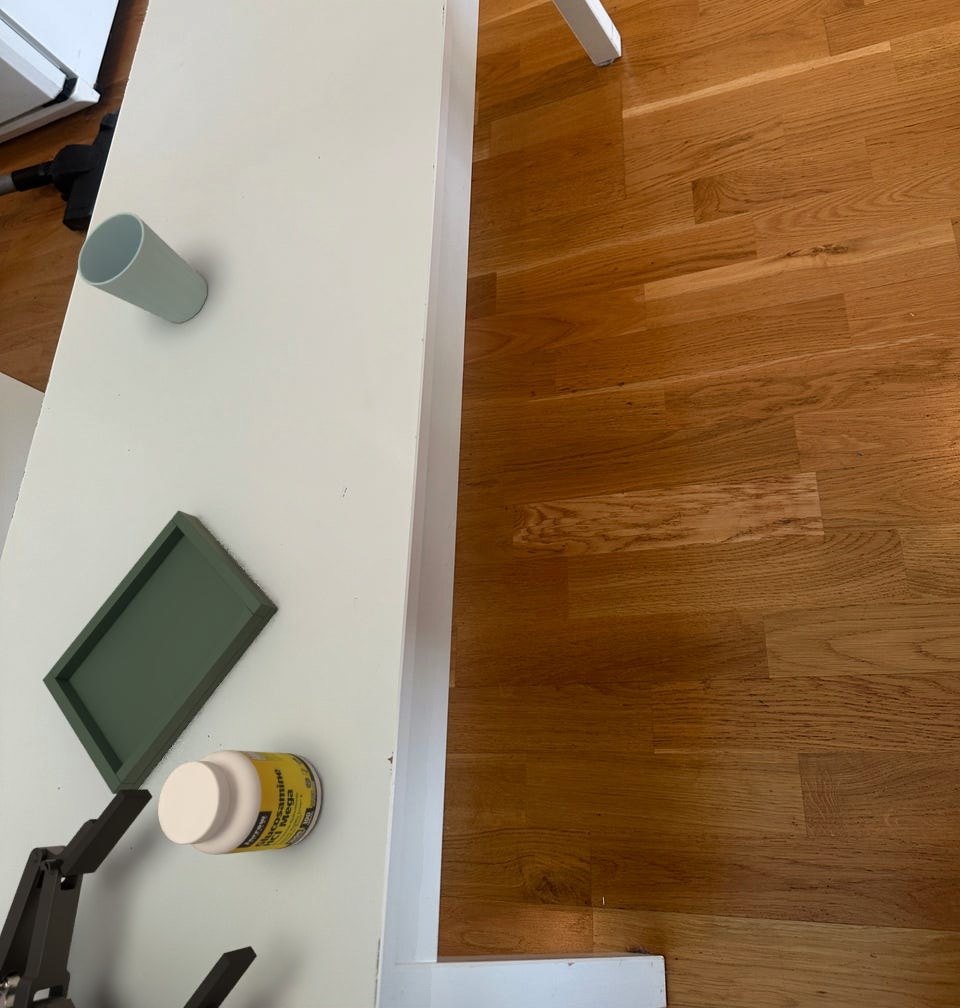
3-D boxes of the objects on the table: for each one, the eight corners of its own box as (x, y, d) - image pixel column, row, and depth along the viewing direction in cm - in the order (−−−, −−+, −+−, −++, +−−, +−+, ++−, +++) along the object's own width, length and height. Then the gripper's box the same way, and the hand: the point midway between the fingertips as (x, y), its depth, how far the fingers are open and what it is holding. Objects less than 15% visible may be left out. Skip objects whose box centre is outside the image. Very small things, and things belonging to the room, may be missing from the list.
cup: (143, 309, 91) (65, 260, 82) (192, 254, 91) (119, 199, 83) (177, 346, 87) (99, 298, 78) (229, 288, 87) (156, 234, 79)
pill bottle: (313, 857, 61) (212, 870, 52) (243, 837, 64) (135, 847, 55) (333, 761, 63) (239, 758, 54) (264, 746, 66) (163, 740, 57)
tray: (134, 793, 69) (112, 794, 67) (63, 682, 76) (41, 680, 74) (278, 608, 70) (261, 603, 68) (195, 516, 77) (178, 509, 75)
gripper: (-43, 969, 66) (136, 738, 68) (108, 1320, 53) (327, 1020, 55) (-141, 989, 60) (60, 734, 62) (3, 1393, 47) (254, 1051, 48)
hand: (185, 868), depth 58 cm, fingers open, 13 cm apart
